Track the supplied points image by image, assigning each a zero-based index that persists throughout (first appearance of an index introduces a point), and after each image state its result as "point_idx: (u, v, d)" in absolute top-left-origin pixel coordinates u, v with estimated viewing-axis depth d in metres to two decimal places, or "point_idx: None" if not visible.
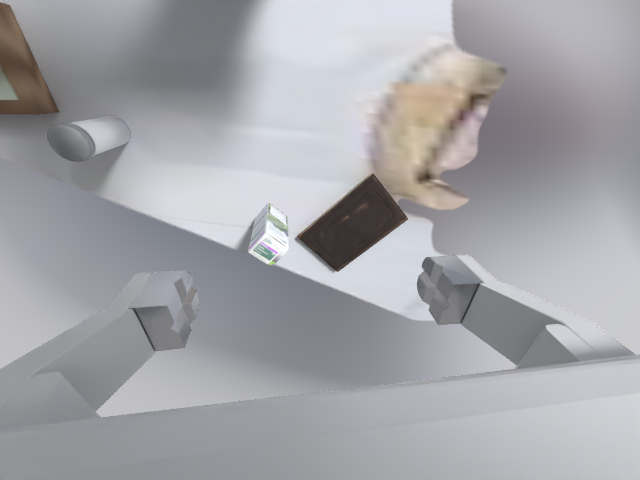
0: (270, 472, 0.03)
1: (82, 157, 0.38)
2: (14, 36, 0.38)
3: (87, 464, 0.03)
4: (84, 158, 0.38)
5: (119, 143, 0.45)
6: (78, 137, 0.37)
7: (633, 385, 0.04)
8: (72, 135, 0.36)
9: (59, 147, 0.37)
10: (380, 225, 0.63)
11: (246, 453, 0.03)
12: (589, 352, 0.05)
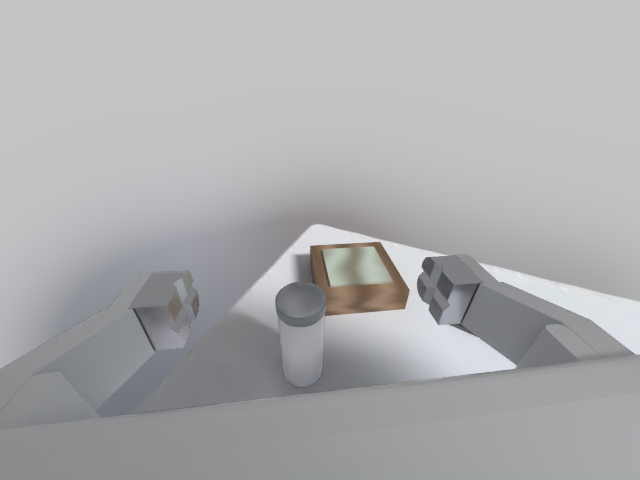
0: (270, 472, 0.03)
1: (281, 306, 0.25)
2: (383, 302, 0.40)
3: (87, 464, 0.03)
4: (279, 308, 0.25)
5: (289, 366, 0.29)
6: (311, 309, 0.25)
7: (633, 385, 0.04)
8: (312, 304, 0.25)
9: (295, 288, 0.27)
10: None
11: (246, 453, 0.03)
12: (589, 352, 0.05)
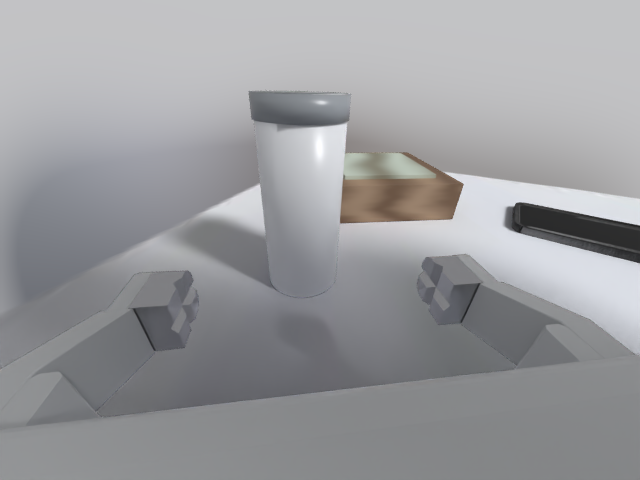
0: (270, 472, 0.03)
1: (259, 91, 0.12)
2: (423, 204, 0.27)
3: (87, 464, 0.03)
4: (256, 92, 0.12)
5: (278, 250, 0.16)
6: None
7: (633, 385, 0.04)
8: (324, 93, 0.12)
9: (289, 91, 0.14)
10: None
11: (246, 453, 0.03)
12: (589, 352, 0.05)
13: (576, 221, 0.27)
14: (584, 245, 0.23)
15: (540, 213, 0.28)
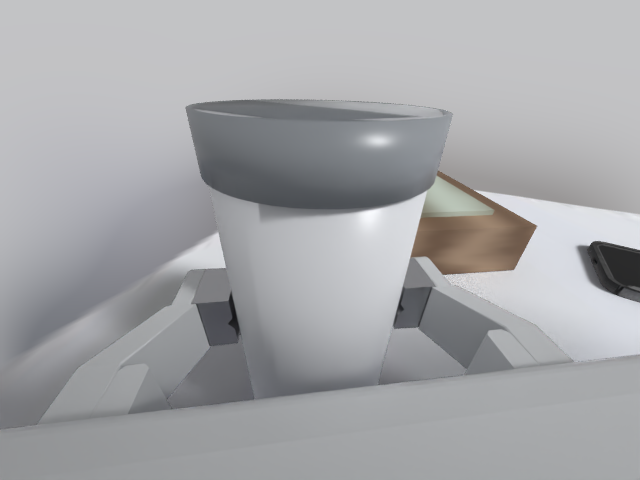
0: (270, 472, 0.03)
1: (213, 108, 0.04)
2: (478, 253, 0.19)
3: (87, 464, 0.03)
4: (200, 109, 0.04)
5: None
6: (386, 115, 0.04)
7: (633, 385, 0.04)
8: (384, 111, 0.05)
9: (292, 101, 0.07)
10: None
11: (246, 453, 0.03)
12: (526, 359, 0.05)
13: None
14: None
15: (633, 260, 0.21)
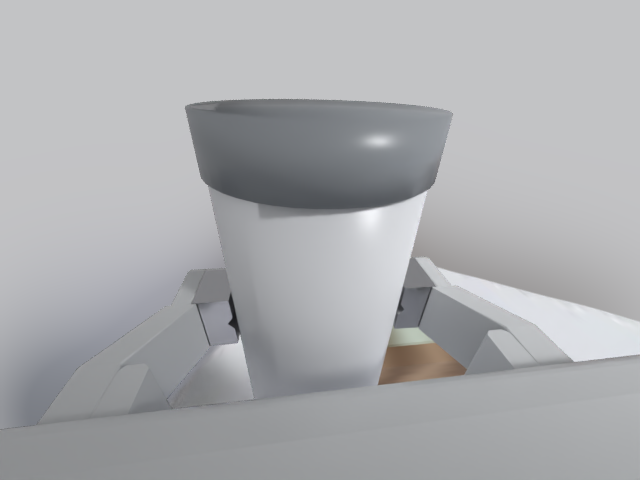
0: (270, 472, 0.03)
1: (212, 107, 0.04)
2: (431, 375, 0.25)
3: (87, 464, 0.03)
4: (200, 109, 0.04)
5: None
6: (386, 113, 0.04)
7: (633, 385, 0.04)
8: (384, 111, 0.05)
9: (291, 101, 0.07)
10: None
11: (246, 453, 0.03)
12: (526, 359, 0.05)
13: None
14: None
15: None
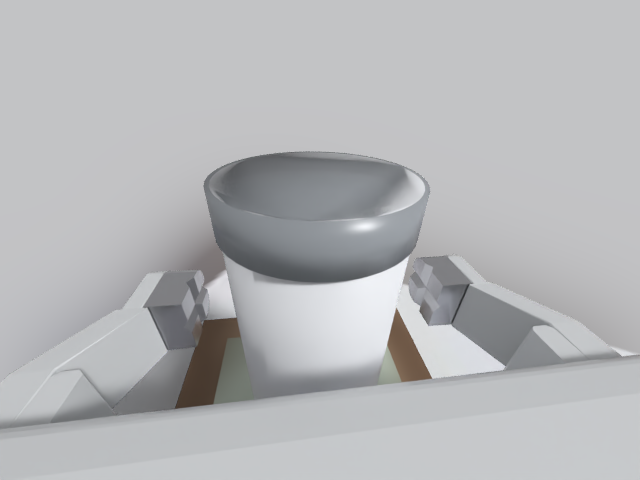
0: (270, 472, 0.03)
1: (227, 189, 0.05)
2: None
3: (87, 463, 0.03)
4: (217, 193, 0.05)
5: None
6: (372, 198, 0.05)
7: (633, 385, 0.04)
8: (372, 186, 0.06)
9: (293, 159, 0.07)
10: None
11: (246, 453, 0.03)
12: (575, 354, 0.05)
13: None
14: None
15: None
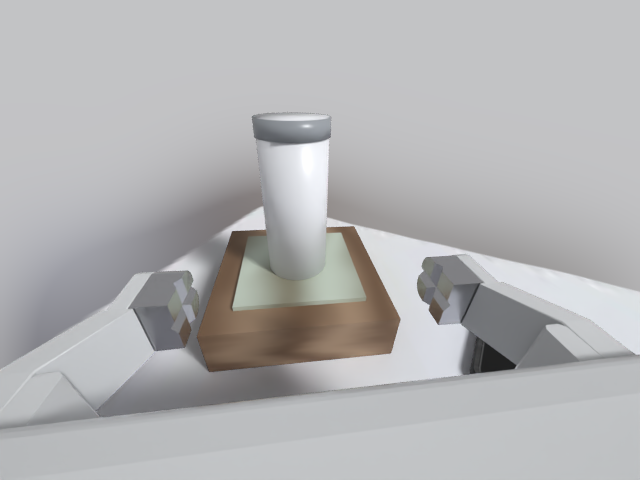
0: (270, 472, 0.03)
1: (260, 117, 0.16)
2: (346, 343, 0.19)
3: (87, 464, 0.03)
4: (258, 118, 0.16)
5: (276, 240, 0.19)
6: (307, 119, 0.16)
7: (633, 385, 0.04)
8: (310, 117, 0.16)
9: (283, 113, 0.18)
10: None
11: (246, 453, 0.03)
12: (589, 352, 0.05)
13: None
14: None
15: None
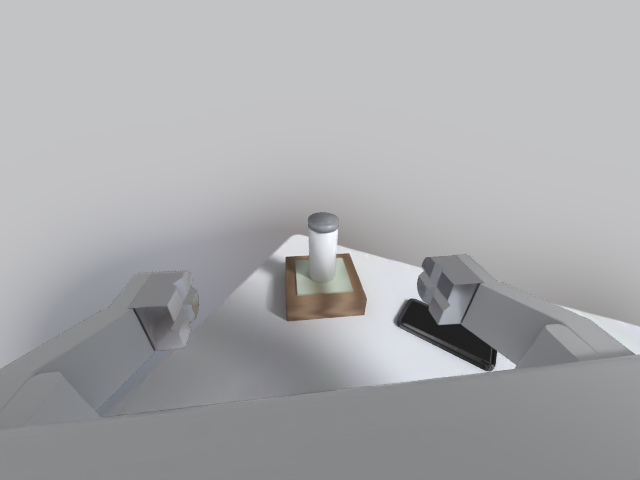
0: (270, 472, 0.03)
1: (312, 222, 0.42)
2: (344, 309, 0.45)
3: (87, 463, 0.03)
4: (311, 223, 0.42)
5: (315, 266, 0.45)
6: (330, 223, 0.42)
7: (633, 385, 0.04)
8: (330, 221, 0.42)
9: (319, 215, 0.44)
10: None
11: (246, 453, 0.03)
12: (589, 352, 0.05)
13: None
14: (427, 339, 0.42)
15: (419, 310, 0.47)
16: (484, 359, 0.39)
